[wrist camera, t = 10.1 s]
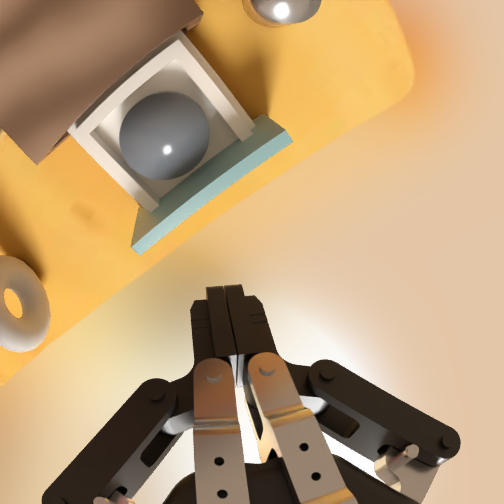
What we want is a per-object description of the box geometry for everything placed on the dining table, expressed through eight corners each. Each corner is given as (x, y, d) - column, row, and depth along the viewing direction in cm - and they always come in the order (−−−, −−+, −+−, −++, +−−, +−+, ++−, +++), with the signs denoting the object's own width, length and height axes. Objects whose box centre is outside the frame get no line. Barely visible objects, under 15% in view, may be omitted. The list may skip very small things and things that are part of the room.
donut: (-8, 245, 24) (-46, 311, 16) (8, 231, 24) (-33, 298, 16) (46, 305, 30) (27, 374, 22) (64, 295, 30) (45, 368, 22)
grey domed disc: (107, 134, 20) (101, 139, 19) (168, 73, 19) (167, 74, 17) (164, 187, 24) (162, 196, 22) (225, 133, 22) (228, 139, 21)
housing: (-31, 27, 11) (-74, 31, 6) (85, -88, 8) (64, -117, 3) (66, 138, 21) (36, 165, 16) (198, 24, 18) (203, 12, 13)
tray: (20, 88, 17) (-17, 101, 12) (146, -30, 14) (136, -54, 9) (145, 216, 27) (140, 255, 22) (269, 122, 24) (293, 141, 19)
